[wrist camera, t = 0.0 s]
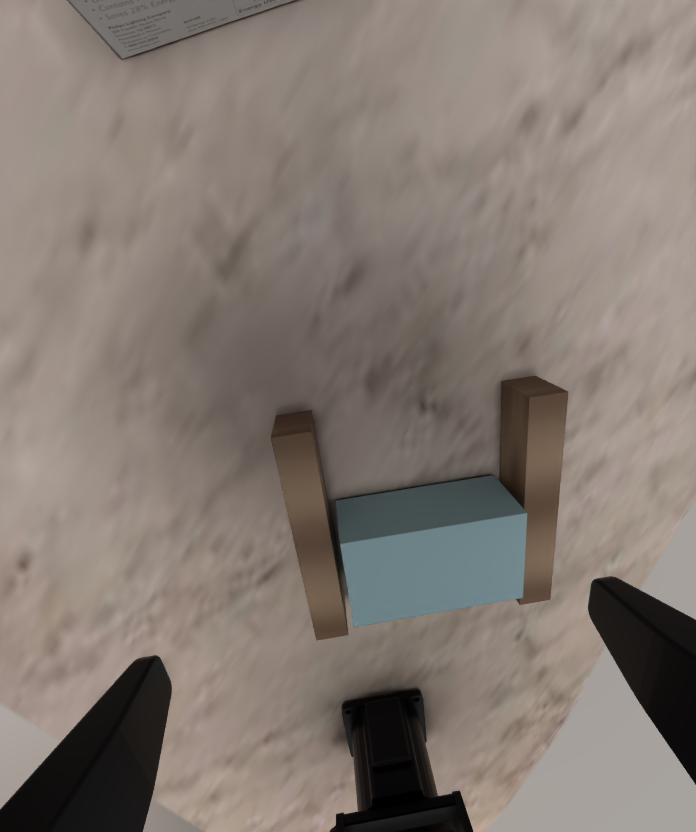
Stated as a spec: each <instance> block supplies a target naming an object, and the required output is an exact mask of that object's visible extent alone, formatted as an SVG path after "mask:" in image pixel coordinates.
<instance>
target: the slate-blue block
mask: <svg viewBox="0 0 696 832" xmlns="http://www.w3.org/2000/svg"><path fill="white" fill-rule="evenodd" d="M336 510H337V520H338V529H339V539H340V547H341V553H342V558H343V564H344V570H345V576H346V582H347V588H348V594H349V599H350V605H351V611H352V617H353V623H354V627H358V626H364V625H370V624H376V623H381V622H387V621H393V620H399V619H404V618H410V617H416V616H422V615H427V614H433V613H439V612H445V611H450V610H456V609H462V608H468V607H473V606H479V605H485V604H491V603H496V602H502V601H508V600H514V599H519V598H523V586H524V567H525V547H526V528H527V512H526V511H525V510H524V509H523V508H522V506H521V505H520V504H519V503H518V502H517V501H516V500H515V498H514V497H513V496H512V495H511V494H510V493H509V492H508V491H507V489H506V488H505V487H504V486H503V485H502V484H501V483H500V481H499V480H498V479H497V478H496V477H495V476H494V475H491V476H485V477H478V478H472V479H466V480H460V481H454V482H447V483H441V484H435V485H429V486H423V487H417V488H410V489H404V490H398V491H392V492H386V493H380V494H373V495H367V496H361V497H355V498H349V499H343V500H336Z"/></svg>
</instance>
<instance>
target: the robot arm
mask: <svg viewBox="0 0 696 832" xmlns="http://www.w3.org/2000/svg"><path fill="white" fill-rule="evenodd" d="M588 611H589V615H590V618H591V620H592V622H593V624H594V625H595V627H596V629H597V631H598V632H599V634H600V636H601V638H602V639H603V641H604V643H605V644H606V646H607V648H608V650H609V651H610V653H611V655H612V656H613V658H614V660H615V662H616V664H617V665H618V667H619V669H620V671H621V672H622V674H623V676H624V678H625V679H626V681H627V683H628V685H629V686H630V688H631V690H632V691H633V692H634V695H635V696H636V698H637V699H638V701H639V702H640V704H641V706H642V707H643V708H644V710H645V712H646V713H647V714H648V716H649V717H650V718H651V720H652V722H653V723H654V724H655V726H656V728H657V729H658V730H659V732H660V733H661V734H662V736H663V738H664V739H665V741H666V742H667V744H668V745H669V746H670V748H671V749H672V751H673V752H674V753H675V755H676V757H677V758H678V759H679V761H680V762H681V764H682V765H683V767H684V768H685V770H686V771H687V773H688V774H689V775H690V777H691V778H692V780H693V781H694V783H695V784H696V620H695V619H693V618H691V617H690V616H688V615H686V614H684V613H682V612H680V611H678V610H676V609H675V608H673V607H671V606H669V605H667V604H665V603H663V602H661V601H660V600H658V599H656V598H654V597H652V596H650V595H648V594H646V593H645V592H643V591H641V590H639V589H637V588H635V587H633V586H631V585H630V584H628V583H626V582H624V581H622V580H620V579H618V578H616V577H612V576H610V577H603V578H597V579H594V580H593V581H592V583H591V589H590V596H589V603H588ZM171 693H172V685H171V681H170V678H169V676H168V674H167V672H166V669H165V667H164V665H163V663H162V660H161V659H160V657H158V656H157V655H154V656H148V657H142V658H139V659H136V660H135V661H134V662H133V663H132V664H131V665H130V666H129V667H128V668H127V669H126V670H125V671H124V673H123V674H122V675H121V676H120V677H119V678H118V679H117V680H116V681H115V683H114V684H113V685H112V686H111V687H110V688H109V689H108V690H107V691H106V693H105V694H104V695H103V696H102V697H101V698H100V699H99V700H98V701H97V703H96V704H95V705H94V706H93V707H92V708H91V709H90V710H89V711H88V713H87V714H86V715H85V716H84V717H83V718H82V719H81V720H80V721H79V723H78V724H77V725H76V726H75V727H74V728H73V729H72V730H71V731H70V733H69V734H68V735H67V736H66V737H65V738H64V739H63V740H62V741H61V743H60V744H59V745H58V746H57V747H56V748H55V749H54V750H53V751H52V753H51V754H50V755H49V756H48V757H47V758H46V759H45V760H44V761H43V763H42V764H41V765H40V766H39V767H38V768H37V769H36V770H35V771H34V772H33V774H32V775H31V776H30V777H29V778H28V779H27V780H26V781H25V782H24V784H23V785H22V786H21V787H20V788H19V789H18V790H17V791H16V793H15V794H14V795H13V796H12V797H11V798H10V799H9V800H8V802H6V804H5V805H4V806H3V807H2V808H1V809H0V832H143V829H144V825H145V821H146V817H147V814H148V810H149V806H150V802H151V798H152V794H153V790H154V786H155V781H156V776H157V771H158V765H159V760H160V754H161V749H162V743H163V738H164V732H165V727H166V721H167V716H168V710H169V705H170V699H171ZM342 716H343V720H344V725H345V730H346V735H347V739H348V744H349V749H350V753H351V756H352V757H353V758H354V770H355V782H356V793H357V805H358V812H354V813H349V814H344V813H339V814H336V826H335V827H334V828H332V829H331V830H330V832H473V829H472V826H471V823H470V820H469V817H468V814H467V811H466V808H465V805H464V802H463V799H462V796H461V793H460V791H454V792H452V794H448V795H443V796H438V794H437V790H436V786H435V782H434V777H433V773H432V769H431V765H430V761H429V757H428V752H427V748H426V744H425V743H426V741H427V739H426V728H425V717H424V705H423V697H422V693H421V692H420V691H418V690H414V691H409V692H403V693H398V694H392V695H387V696H381V697H376V698H370V699H365V700H359V701H354V702H348V703H345V704H343V705H342Z"/></svg>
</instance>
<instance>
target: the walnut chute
mask: <svg viewBox="0 0 696 832" xmlns="http://www.w3.org/2000/svg"><path fill="white" fill-rule="evenodd" d="M567 401H568V391H566V390H564V389H562V388H560V387H557V386H555V385H553V384H551V383H549V382H547V381H545V380H543V379H541V378H539V377H537V376H533V377H526V378H520V379H513V380H507V381H502V403H501V455H500V483H501V484H502V485H503V486H504V487H505V488H506V489H507V491H508V492H509V493H510V494H511V495H512V496H513V497H514V498H515V500H516V501H517V502H518V503H519V504H520V505H521V506H522V508H523V509H524V510H525V511H526V512H527V528H526V547H525V567H524V586H523V598H519V599H516V600H517V601H518V603H519V605H522V604H528V603H534V602H540V601H545V600H550V597H551V585H552V574H553V562H554V551H555V539H556V527H557V516H558V504H559V493H560V481H561V470H562V458H563V447H564V435H565V424H566V412H567ZM271 441H272V445H273V449H274V454H275V458H276V463H277V467H278V472H279V476H280V481H281V485H282V489H283V494H284V498H285V503H286V507H287V512H288V516H289V520H290V525H291V529H292V534H293V538H294V543H295V547H296V552H297V556H298V560H299V565H300V569H301V574H302V578H303V583H304V587H305V592H306V596H307V600H308V605H309V609H310V614H311V618H312V623H313V627H314V631H315V636H316V640H322V639H328V638H334V637H339V636H345V635H348V627H347V617H346V607H345V597H344V591H343V586H342V580H341V574H340V569H339V563H338V557H337V552H336V546H335V540H334V535H333V529H332V524H331V518H330V512H329V507H328V501H327V495H326V490H325V484H324V478H323V473H322V467H321V461H320V456H319V450H318V444H317V439H316V433H315V427H314V422H313V416H312V410H311V411H305V412H298V413H292V414H285V415H279V416H276V419H275V423H274V427H273V431H272V435H271Z"/></svg>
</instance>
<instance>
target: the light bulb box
mask: <svg viewBox="0 0 696 832" xmlns="http://www.w3.org/2000/svg"><path fill="white" fill-rule="evenodd" d="M67 1H68V2H69V3H70V4H71V5H72V6H73V8H74V9H75V10H76V11H77V12H78V13H79V14H80V15H81V16H82V17H83V19H84V20H85V21H86V22H87V23H88V24H89V25H90V26H91V27H92V28H93V30H94V31H95V32H96V33H97V34H98V35H99V36H100V37H101V38H102V39H103V40H104V41H105V43H106V44H107V45H108V46H109V47H110V48H111V49H112V51H113V52H114V53H115V54H116V55H117V56H118V57H119V58H120V59H124V58H126V57H129V56H132V55H135V54H138V53H141V52H144V51H147V50H150V49H153V48H156V47H158V46H161V45H164V44H167V43H170V42H173V41H176V40H179V39H182V38H185V37H188V36H191V35H194V34H197V33H200V32H202V31H205V30H208V29H211V28H214V27H217V26H220V25H222V24H225V23H228V22H231V21H234V20H237V19H240V18H243V17H246V16H249V15H252V14H255V13H258V12H261V11H264V10H267V9H270V8H272V7H275V6H278V5H281V4H285V3H288V2H291V1H294V0H67Z"/></svg>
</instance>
